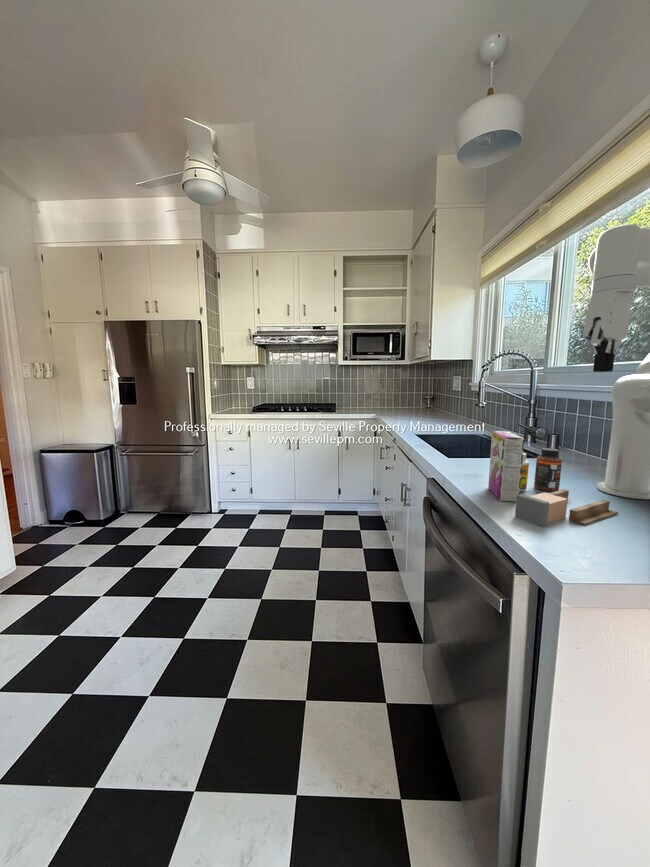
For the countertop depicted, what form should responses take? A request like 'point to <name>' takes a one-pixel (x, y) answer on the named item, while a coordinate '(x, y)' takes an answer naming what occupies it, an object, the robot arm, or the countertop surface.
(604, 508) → the chute
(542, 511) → the block
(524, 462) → the supplement bottle
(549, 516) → the block
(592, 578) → the countertop surface
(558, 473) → the supplement bottle
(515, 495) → the candy bar box
